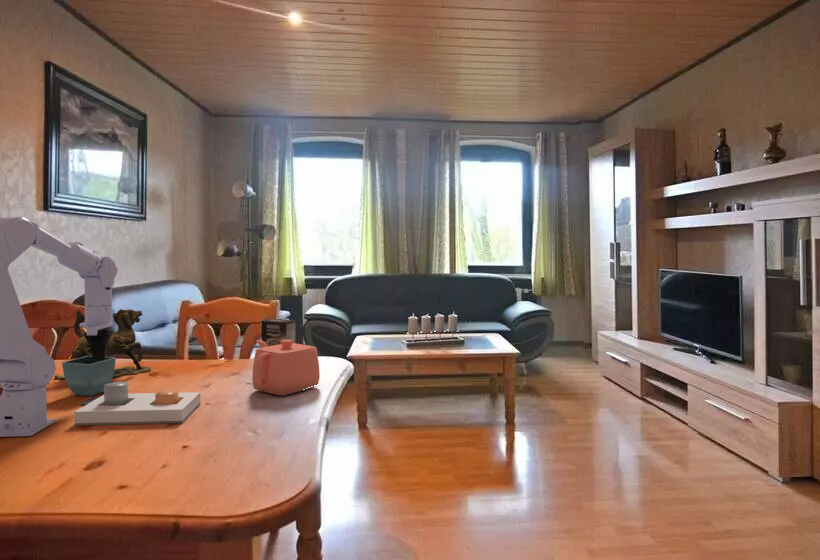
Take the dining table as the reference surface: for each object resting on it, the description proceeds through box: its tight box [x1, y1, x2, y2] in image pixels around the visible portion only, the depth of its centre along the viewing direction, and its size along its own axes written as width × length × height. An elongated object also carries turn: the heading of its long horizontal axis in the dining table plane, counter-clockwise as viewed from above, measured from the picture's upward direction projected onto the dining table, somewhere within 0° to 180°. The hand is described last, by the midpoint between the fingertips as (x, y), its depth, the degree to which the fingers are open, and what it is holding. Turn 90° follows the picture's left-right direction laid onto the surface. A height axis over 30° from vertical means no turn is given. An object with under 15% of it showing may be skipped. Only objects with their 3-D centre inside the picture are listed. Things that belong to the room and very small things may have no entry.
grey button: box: [103, 381, 129, 405], centre depth 117 cm, size 5×5×4 cm
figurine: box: [54, 308, 152, 381], centre depth 154 cm, size 13×25×20 cm, turn 118°
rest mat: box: [80, 396, 100, 407], centre depth 127 cm, size 6×6×1 cm
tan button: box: [155, 390, 179, 405], centre depth 118 cm, size 5×5×4 cm
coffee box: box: [261, 318, 297, 347], centre depth 164 cm, size 9×6×16 cm
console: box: [73, 391, 201, 427], centre depth 117 cm, size 14×22×3 cm, turn 97°
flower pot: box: [61, 355, 117, 397], centre depth 134 cm, size 9×9×9 cm
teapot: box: [251, 339, 321, 396], centre depth 142 cm, size 20×19×14 cm
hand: (99, 360), depth 126 cm, fingers closed
